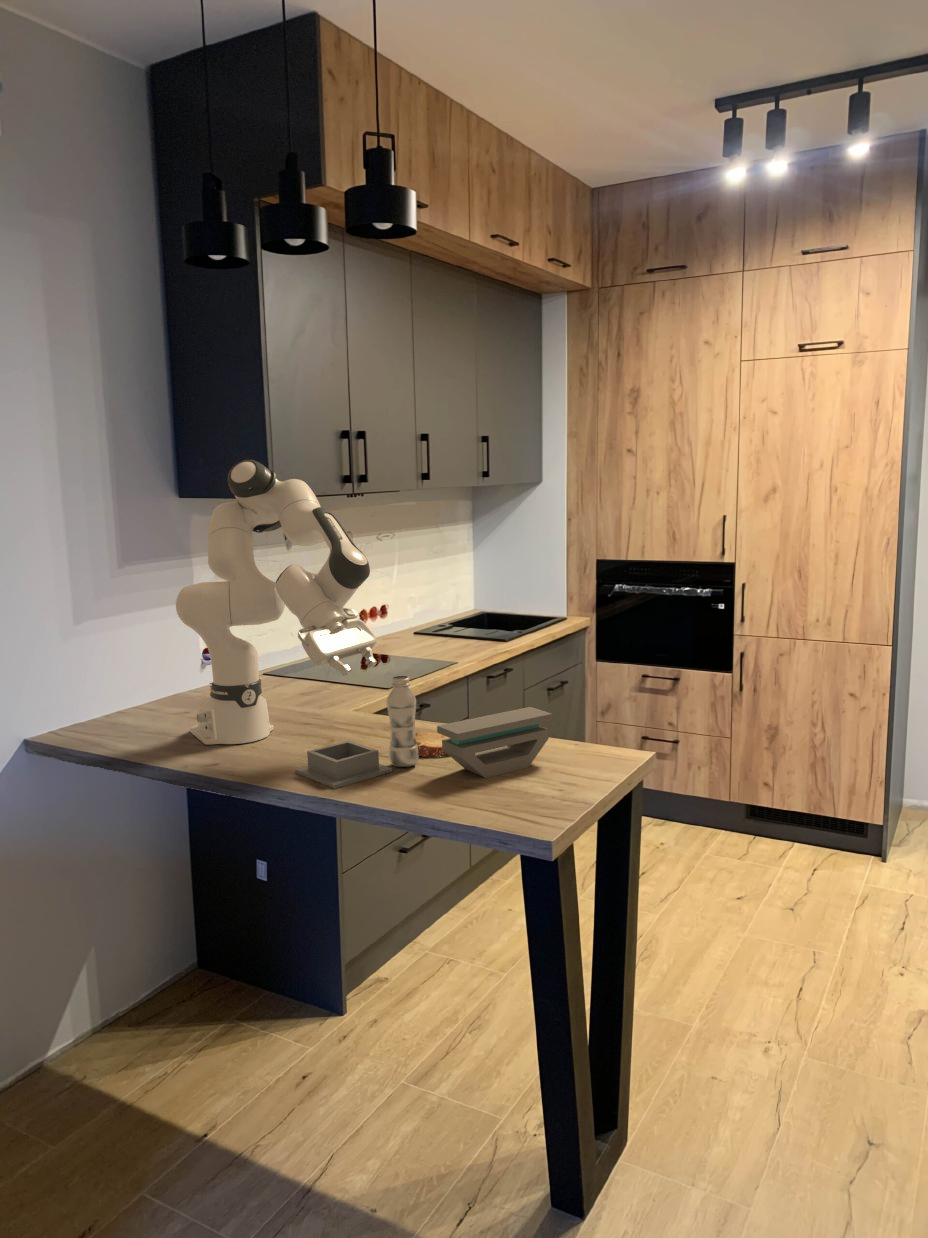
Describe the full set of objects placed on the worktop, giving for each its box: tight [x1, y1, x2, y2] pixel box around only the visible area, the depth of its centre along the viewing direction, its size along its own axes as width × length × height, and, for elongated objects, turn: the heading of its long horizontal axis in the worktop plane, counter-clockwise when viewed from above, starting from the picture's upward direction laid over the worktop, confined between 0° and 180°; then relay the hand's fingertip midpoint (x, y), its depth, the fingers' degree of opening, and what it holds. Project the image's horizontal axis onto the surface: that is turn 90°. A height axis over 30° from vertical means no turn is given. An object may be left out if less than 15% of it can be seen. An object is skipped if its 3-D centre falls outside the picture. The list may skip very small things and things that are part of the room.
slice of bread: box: [415, 731, 450, 758], centre depth 219 cm, size 18×18×4 cm
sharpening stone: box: [436, 706, 553, 779], centre depth 202 cm, size 25×8×11 cm, turn 124°
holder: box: [295, 740, 393, 790], centre depth 202 cm, size 15×15×5 cm
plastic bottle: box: [385, 675, 420, 768], centre depth 204 cm, size 6×7×20 cm
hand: (360, 669), depth 209 cm, fingers open, 8 cm apart
